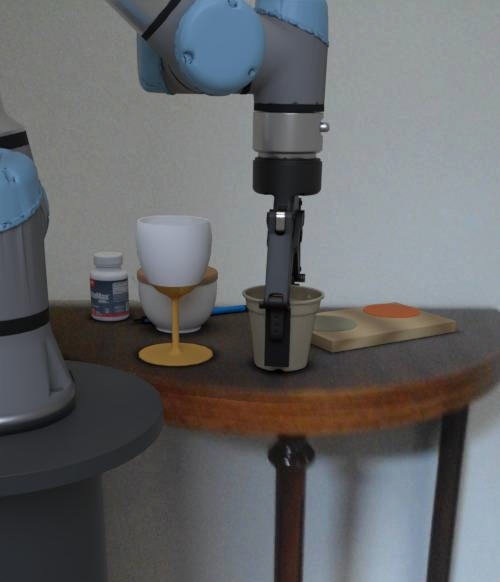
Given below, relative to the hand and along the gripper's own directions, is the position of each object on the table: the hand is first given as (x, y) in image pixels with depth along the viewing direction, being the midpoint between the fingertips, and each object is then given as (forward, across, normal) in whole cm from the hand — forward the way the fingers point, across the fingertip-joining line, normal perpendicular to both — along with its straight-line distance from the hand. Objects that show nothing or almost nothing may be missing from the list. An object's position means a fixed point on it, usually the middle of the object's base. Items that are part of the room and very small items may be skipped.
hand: (281, 350), depth 98 cm
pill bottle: (+2, +18, +26) cm, 32 cm away
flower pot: (+2, 0, 0) cm, 2 cm away
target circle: (0, +23, -13) cm, 27 cm away
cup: (+2, +1, +13) cm, 13 cm away
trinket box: (+2, +14, +15) cm, 21 cm away
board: (+2, +18, -10) cm, 20 cm away
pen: (+2, +21, +14) cm, 26 cm away
